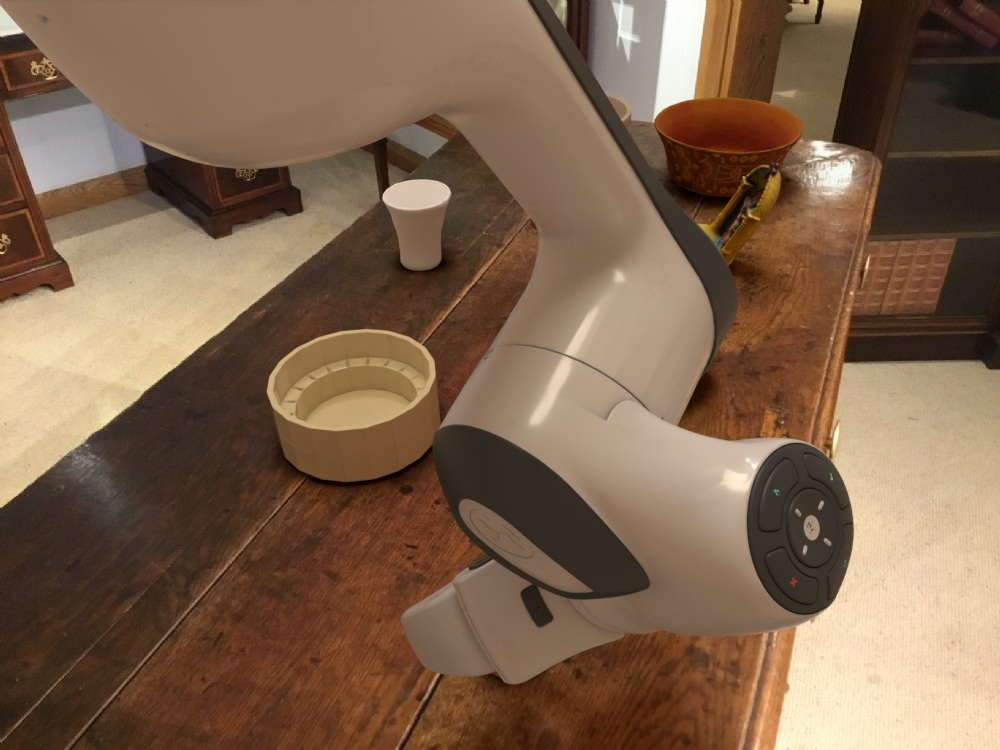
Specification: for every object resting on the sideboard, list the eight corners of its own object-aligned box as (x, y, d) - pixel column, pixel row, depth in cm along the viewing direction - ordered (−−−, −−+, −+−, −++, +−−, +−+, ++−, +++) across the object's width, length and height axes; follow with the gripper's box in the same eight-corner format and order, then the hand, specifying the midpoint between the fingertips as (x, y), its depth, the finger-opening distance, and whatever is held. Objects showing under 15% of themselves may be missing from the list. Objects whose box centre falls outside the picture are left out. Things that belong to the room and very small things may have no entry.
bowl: (777, 225, 119) (790, 157, 113) (631, 202, 127) (636, 137, 121) (802, 168, 134) (814, 105, 128) (670, 150, 142) (676, 90, 136)
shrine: (771, 259, 112) (791, 150, 103) (758, 289, 106) (778, 176, 97) (685, 243, 116) (697, 137, 107) (668, 271, 110) (679, 161, 101)
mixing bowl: (416, 495, 79) (408, 438, 75) (254, 475, 82) (238, 420, 78) (457, 389, 92) (452, 336, 88) (315, 375, 95) (305, 323, 91)
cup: (428, 284, 110) (421, 213, 104) (376, 264, 114) (366, 195, 108) (471, 256, 115) (467, 187, 109) (420, 238, 120) (413, 171, 114)
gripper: (701, 424, 53) (589, 459, 65) (434, 594, 43) (360, 598, 56) (749, 514, 53) (627, 532, 65) (492, 705, 43) (405, 685, 55)
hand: (502, 564), depth 60 cm, fingers open, 4 cm apart
